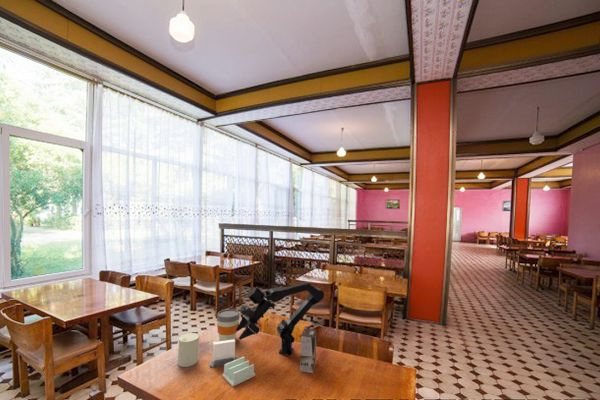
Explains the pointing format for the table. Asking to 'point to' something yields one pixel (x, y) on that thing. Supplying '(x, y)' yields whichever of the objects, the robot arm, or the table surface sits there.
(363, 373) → the table surface
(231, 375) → the dish rack
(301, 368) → the coffee box
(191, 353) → the can
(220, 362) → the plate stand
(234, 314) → the reusable coffee cup
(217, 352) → the white block
